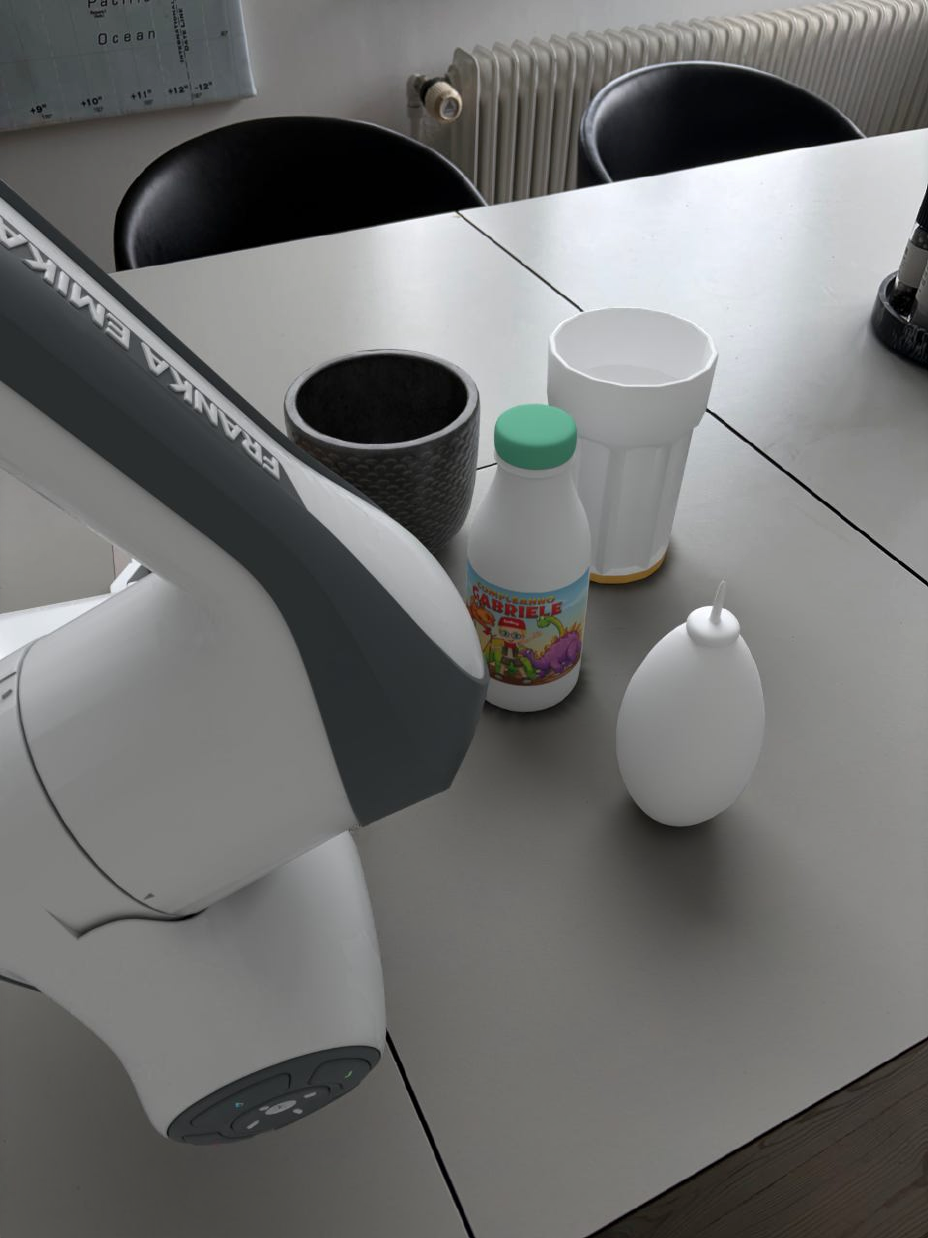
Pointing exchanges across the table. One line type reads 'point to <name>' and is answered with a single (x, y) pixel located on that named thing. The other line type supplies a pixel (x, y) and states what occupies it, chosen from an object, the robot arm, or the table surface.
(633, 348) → the cup
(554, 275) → the table surface
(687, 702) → the sauce bottle
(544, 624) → the milk bottle
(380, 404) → the planter
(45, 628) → the robot arm
